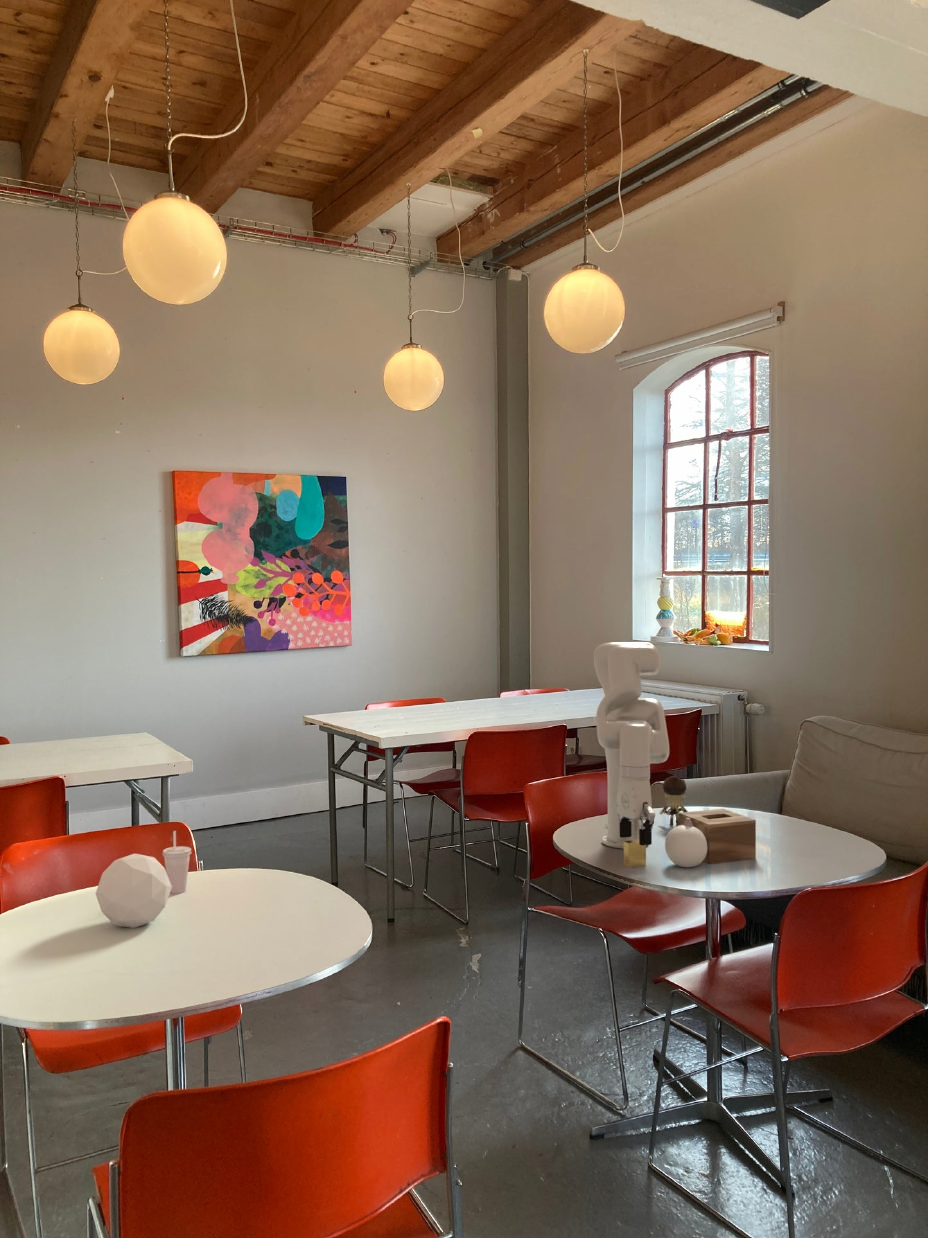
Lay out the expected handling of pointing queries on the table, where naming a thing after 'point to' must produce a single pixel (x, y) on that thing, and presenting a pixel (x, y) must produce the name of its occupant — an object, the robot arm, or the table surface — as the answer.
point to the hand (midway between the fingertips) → (635, 841)
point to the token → (634, 853)
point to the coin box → (724, 834)
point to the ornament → (686, 845)
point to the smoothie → (177, 866)
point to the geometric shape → (133, 890)
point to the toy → (674, 797)
